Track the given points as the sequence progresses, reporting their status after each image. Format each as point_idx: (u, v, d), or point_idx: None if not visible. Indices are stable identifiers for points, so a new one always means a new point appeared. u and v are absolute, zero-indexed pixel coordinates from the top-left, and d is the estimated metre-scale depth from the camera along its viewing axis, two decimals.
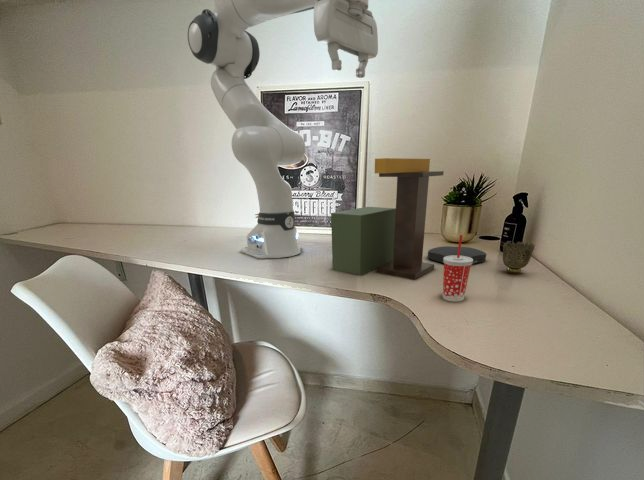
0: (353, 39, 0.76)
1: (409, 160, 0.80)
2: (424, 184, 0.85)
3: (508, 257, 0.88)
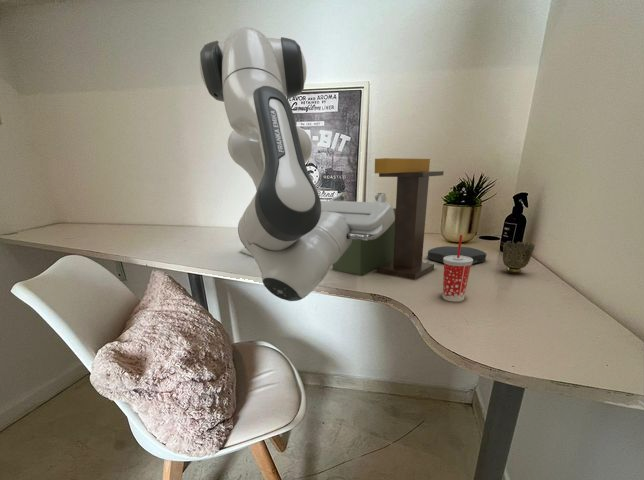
0: None
1: (409, 160, 0.80)
2: (424, 184, 0.85)
3: (508, 257, 0.88)
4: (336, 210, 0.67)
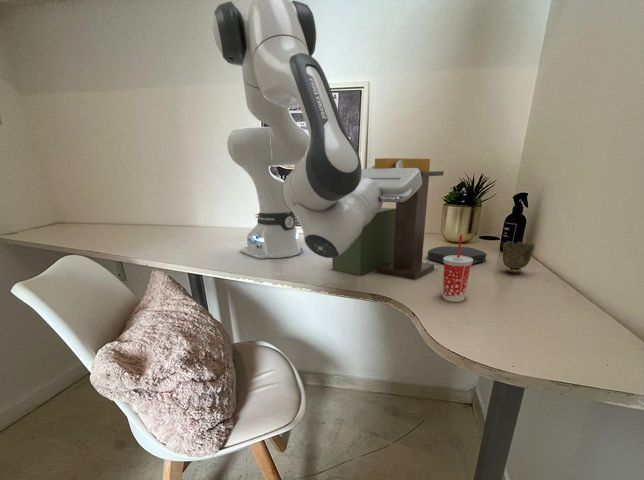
0: None
1: (409, 160, 0.80)
2: (424, 184, 0.85)
3: (508, 257, 0.88)
4: (367, 176, 0.73)
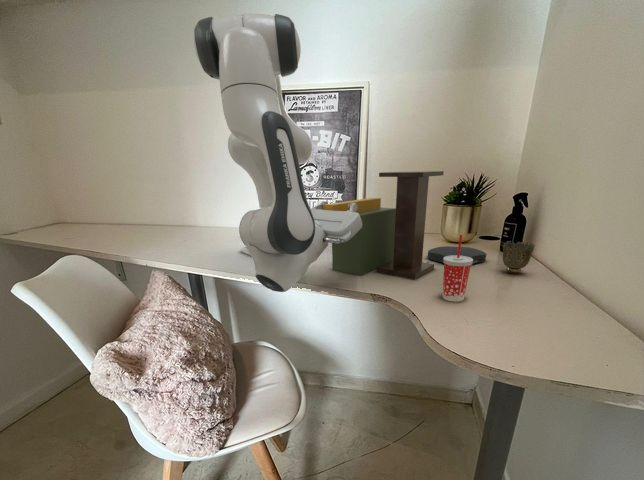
0: None
1: (357, 203, 0.89)
2: (424, 184, 0.85)
3: (508, 257, 0.88)
4: (316, 217, 0.82)
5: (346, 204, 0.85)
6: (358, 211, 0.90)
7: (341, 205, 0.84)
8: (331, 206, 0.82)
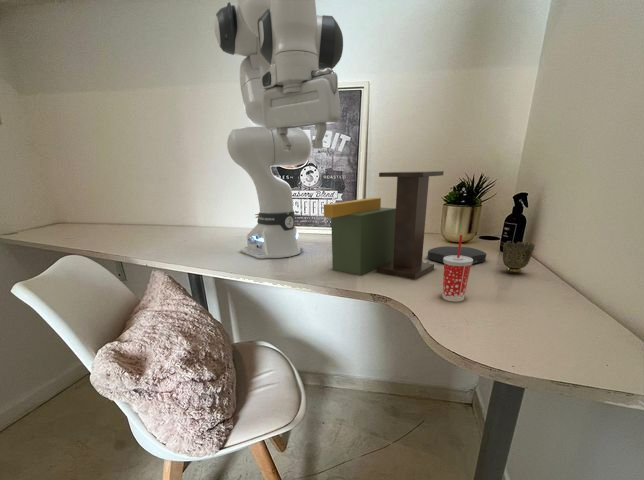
0: (291, 117, 0.71)
1: (357, 203, 0.89)
2: (424, 184, 0.85)
3: (508, 257, 0.88)
4: None
5: (346, 204, 0.85)
6: (358, 211, 0.90)
7: (341, 205, 0.84)
8: (331, 206, 0.82)
